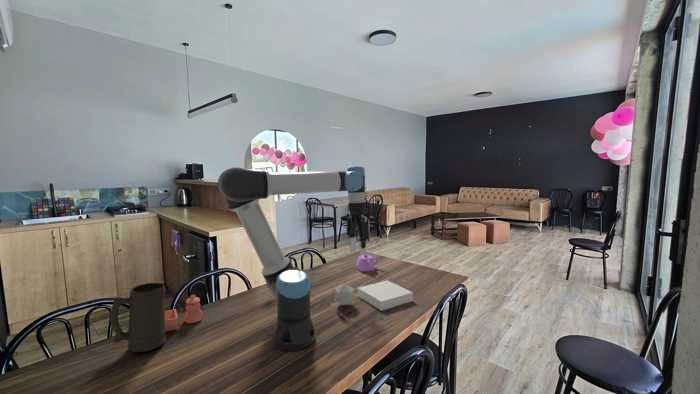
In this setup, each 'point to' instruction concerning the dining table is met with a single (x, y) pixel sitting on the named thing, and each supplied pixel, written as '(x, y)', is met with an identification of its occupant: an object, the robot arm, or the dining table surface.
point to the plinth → (385, 295)
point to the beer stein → (142, 317)
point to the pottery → (190, 316)
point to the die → (344, 294)
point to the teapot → (366, 263)
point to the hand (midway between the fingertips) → (357, 253)
